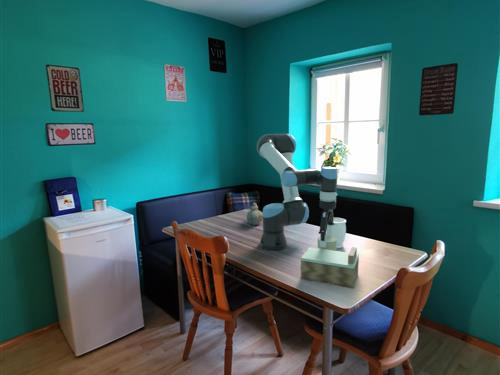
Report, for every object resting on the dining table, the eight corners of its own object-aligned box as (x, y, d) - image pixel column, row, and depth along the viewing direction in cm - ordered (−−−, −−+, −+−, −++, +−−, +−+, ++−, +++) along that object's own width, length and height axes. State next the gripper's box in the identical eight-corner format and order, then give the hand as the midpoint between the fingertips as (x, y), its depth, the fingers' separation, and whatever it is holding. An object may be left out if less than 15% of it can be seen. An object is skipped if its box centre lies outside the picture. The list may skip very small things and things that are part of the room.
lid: (300, 260, 136) (300, 250, 135) (309, 249, 148) (309, 239, 147) (354, 269, 126) (354, 258, 125) (358, 256, 139) (359, 246, 138)
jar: (346, 249, 169) (347, 222, 166) (326, 248, 171) (327, 222, 169) (344, 243, 179) (345, 217, 177) (325, 242, 181) (326, 216, 179)
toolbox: (300, 278, 137) (300, 261, 136) (309, 266, 150) (309, 250, 148) (353, 288, 128) (354, 269, 126) (358, 274, 140) (358, 257, 139)
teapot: (263, 228, 210) (263, 206, 208) (246, 228, 210) (245, 206, 208) (262, 219, 231) (262, 199, 229) (247, 219, 231) (246, 199, 229)
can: (314, 258, 159) (315, 235, 157) (332, 257, 160) (333, 234, 158) (320, 265, 150) (320, 241, 148) (339, 264, 151) (339, 240, 149)
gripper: (330, 206, 137) (328, 252, 141) (340, 195, 159) (338, 235, 163) (313, 204, 140) (311, 249, 144) (325, 193, 162) (324, 233, 166)
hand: (326, 242), depth 154 cm, fingers open, 13 cm apart
